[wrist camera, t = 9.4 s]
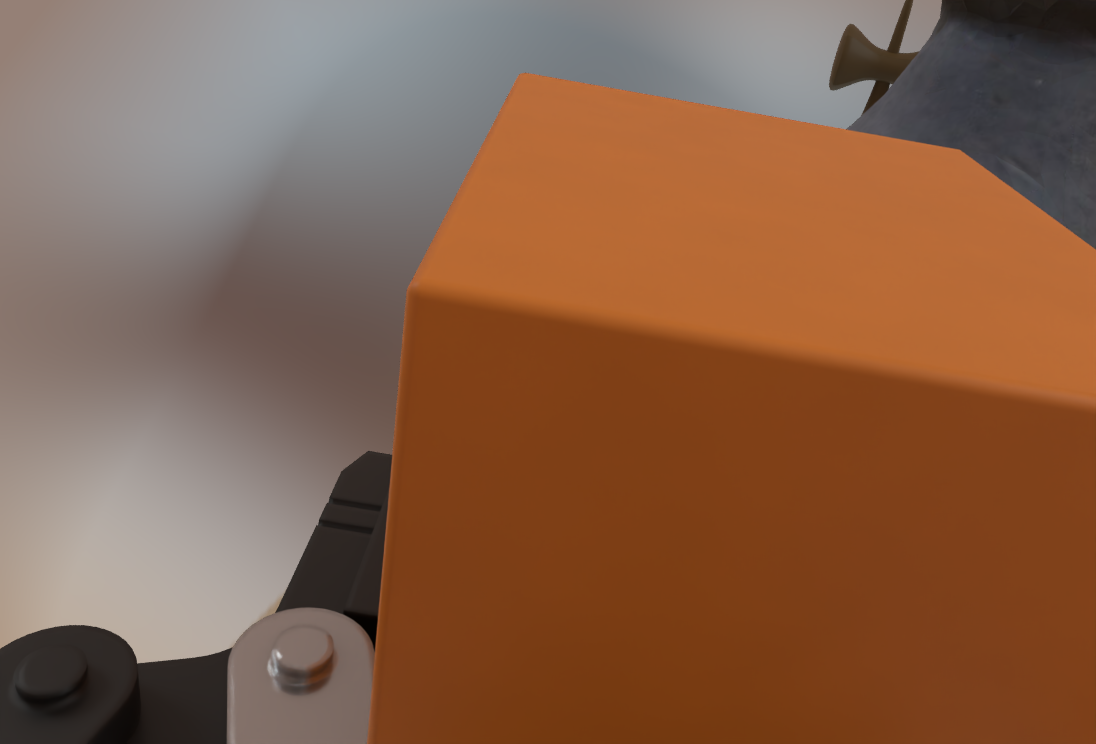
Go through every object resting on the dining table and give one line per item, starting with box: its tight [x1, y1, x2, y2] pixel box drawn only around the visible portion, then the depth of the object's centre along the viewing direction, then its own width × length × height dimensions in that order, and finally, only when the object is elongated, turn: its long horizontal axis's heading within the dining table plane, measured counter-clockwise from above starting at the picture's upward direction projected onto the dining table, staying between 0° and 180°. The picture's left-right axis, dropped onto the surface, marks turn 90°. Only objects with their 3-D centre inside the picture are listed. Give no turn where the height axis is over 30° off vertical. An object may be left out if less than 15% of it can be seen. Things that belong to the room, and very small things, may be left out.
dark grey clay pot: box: [846, 0, 1096, 249], centre depth 52 cm, size 21×22×25 cm
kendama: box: [829, 0, 919, 116], centre depth 83 cm, size 6×10×20 cm, turn 73°
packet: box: [367, 73, 1096, 744], centre depth 10 cm, size 5×6×12 cm
